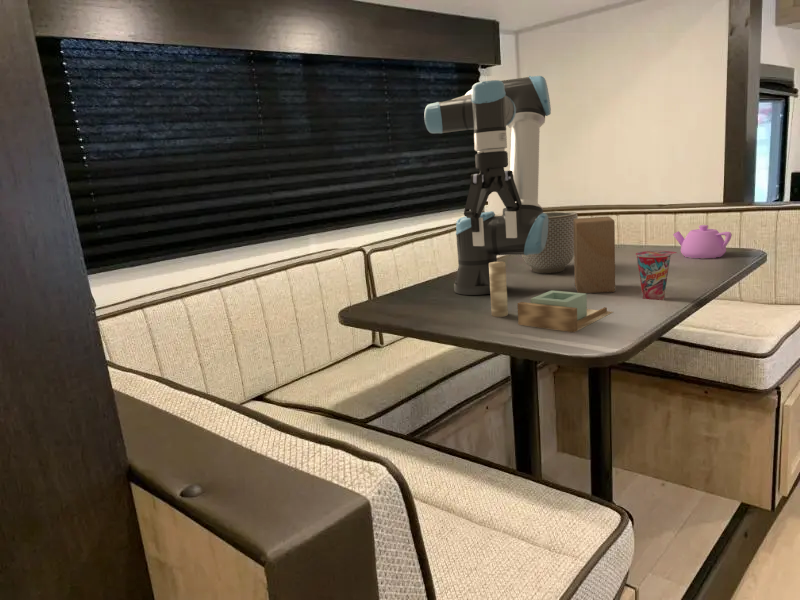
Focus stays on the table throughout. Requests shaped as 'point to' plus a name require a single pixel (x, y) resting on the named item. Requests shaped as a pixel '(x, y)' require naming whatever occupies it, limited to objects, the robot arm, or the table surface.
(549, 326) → the rail board
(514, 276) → the table surface
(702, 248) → the teapot
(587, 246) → the wooden block
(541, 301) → the pale green hollow block
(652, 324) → the table surface
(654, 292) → the cup
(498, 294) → the dowel
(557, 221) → the planter
